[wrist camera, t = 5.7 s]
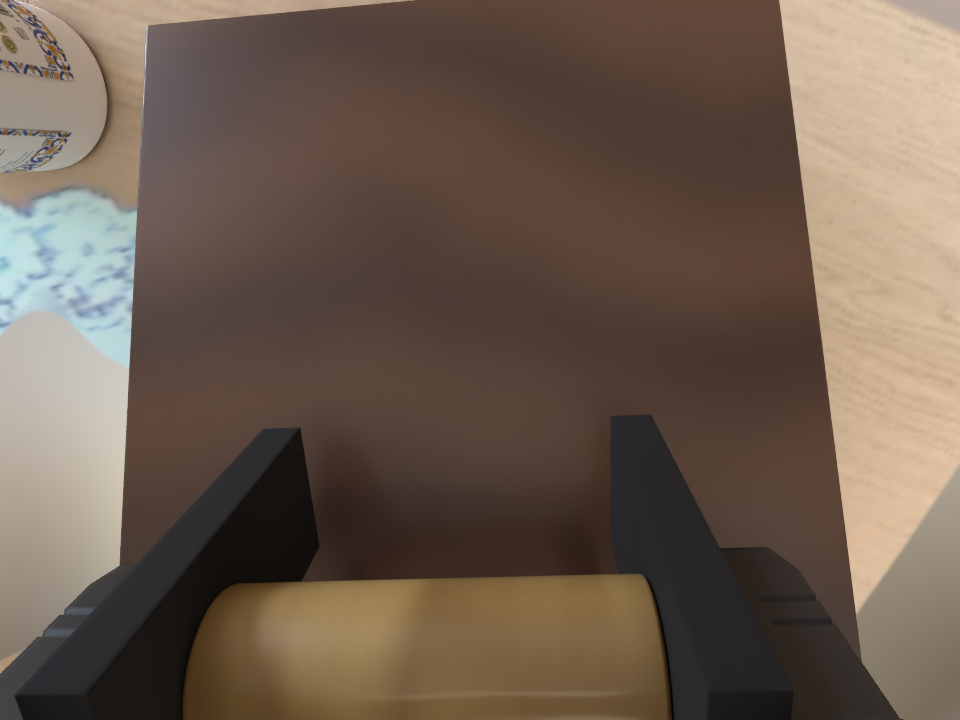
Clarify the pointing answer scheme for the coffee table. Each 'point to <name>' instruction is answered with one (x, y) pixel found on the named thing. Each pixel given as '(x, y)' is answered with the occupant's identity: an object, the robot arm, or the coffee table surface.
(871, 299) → the coffee table surface
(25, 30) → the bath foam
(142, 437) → the chest lid
